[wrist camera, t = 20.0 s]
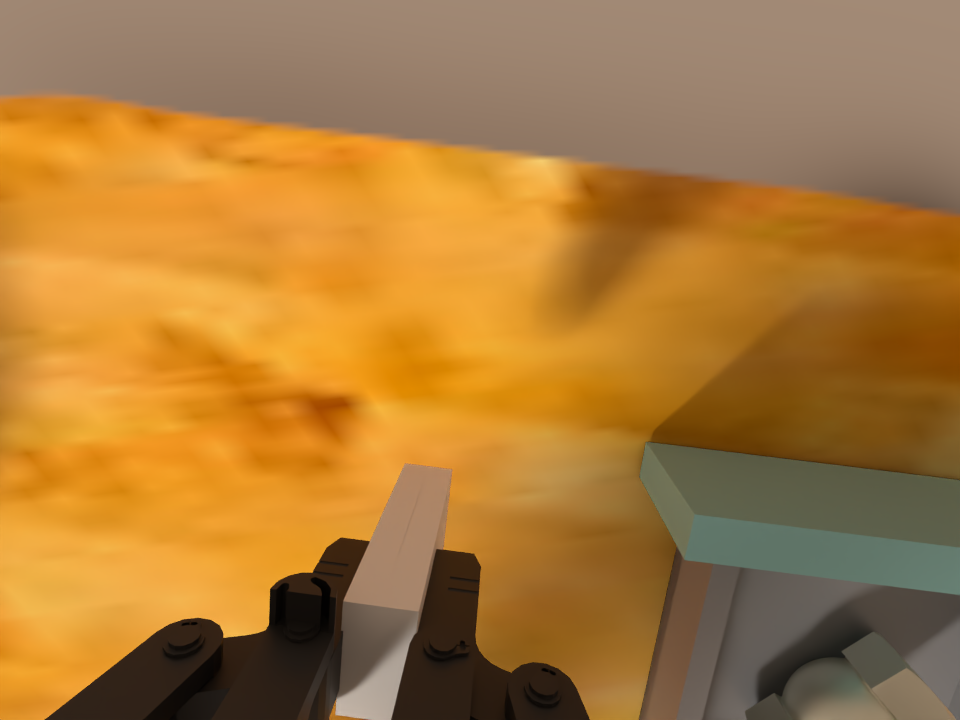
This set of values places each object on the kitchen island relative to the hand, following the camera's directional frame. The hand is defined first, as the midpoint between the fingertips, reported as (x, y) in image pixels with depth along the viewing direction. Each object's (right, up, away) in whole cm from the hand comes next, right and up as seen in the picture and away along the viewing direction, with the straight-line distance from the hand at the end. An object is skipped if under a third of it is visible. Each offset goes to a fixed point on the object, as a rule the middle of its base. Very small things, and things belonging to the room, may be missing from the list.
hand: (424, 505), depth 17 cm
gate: (+16, 0, +6) cm, 17 cm away
